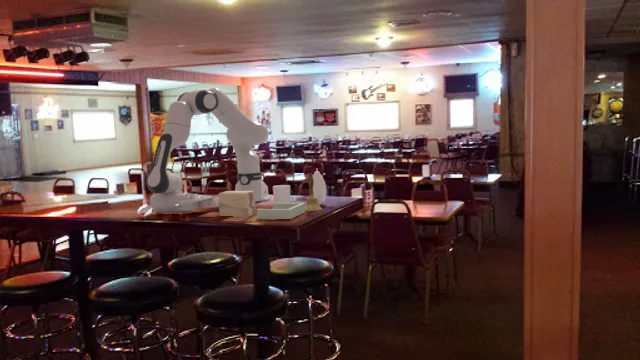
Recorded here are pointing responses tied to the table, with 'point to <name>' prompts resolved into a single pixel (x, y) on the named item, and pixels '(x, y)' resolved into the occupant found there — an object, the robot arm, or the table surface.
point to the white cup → (281, 193)
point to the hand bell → (311, 197)
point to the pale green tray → (282, 211)
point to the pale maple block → (237, 203)
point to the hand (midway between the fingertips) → (213, 203)
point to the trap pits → (214, 214)
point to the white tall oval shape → (319, 187)
